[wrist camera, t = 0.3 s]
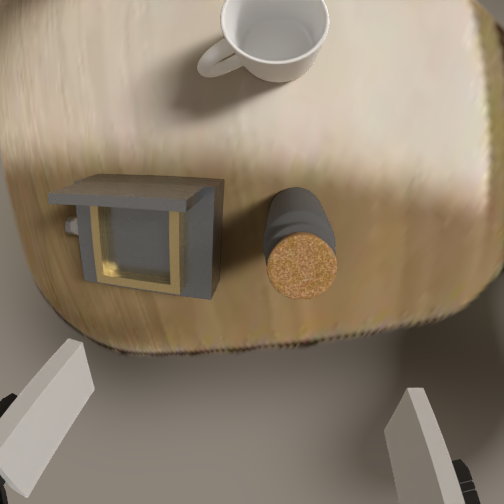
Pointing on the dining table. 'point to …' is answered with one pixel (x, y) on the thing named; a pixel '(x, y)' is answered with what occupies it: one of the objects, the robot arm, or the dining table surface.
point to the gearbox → (148, 231)
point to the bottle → (299, 245)
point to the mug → (268, 38)
